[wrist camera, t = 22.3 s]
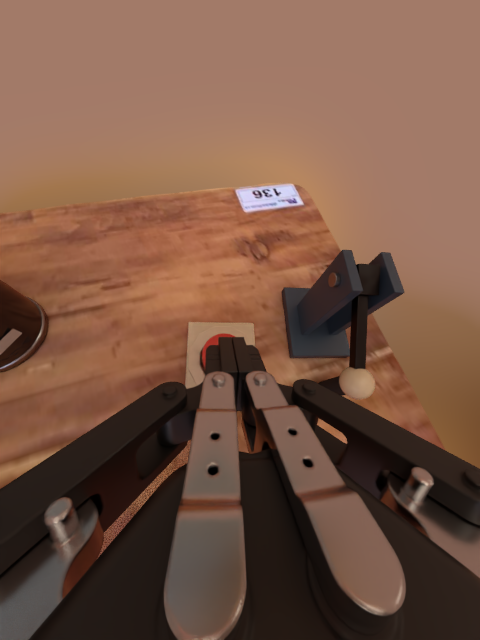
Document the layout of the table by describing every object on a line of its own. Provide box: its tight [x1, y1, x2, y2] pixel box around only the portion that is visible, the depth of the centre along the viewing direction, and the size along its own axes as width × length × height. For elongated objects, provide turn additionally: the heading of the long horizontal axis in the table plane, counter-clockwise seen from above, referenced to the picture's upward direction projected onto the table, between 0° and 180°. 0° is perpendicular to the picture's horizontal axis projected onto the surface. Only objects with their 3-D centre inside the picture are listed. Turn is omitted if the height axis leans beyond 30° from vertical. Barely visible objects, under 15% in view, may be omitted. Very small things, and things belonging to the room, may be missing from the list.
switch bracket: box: [282, 250, 404, 358], centre depth 26 cm, size 10×8×13 cm
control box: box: [185, 322, 255, 409], centre depth 26 cm, size 10×8×4 cm
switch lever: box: [339, 264, 380, 400], centre depth 22 cm, size 13×3×3 cm, turn 2°
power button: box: [202, 333, 235, 369], centre depth 23 cm, size 4×4×2 cm
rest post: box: [318, 376, 346, 396], centre depth 26 cm, size 2×2×5 cm
